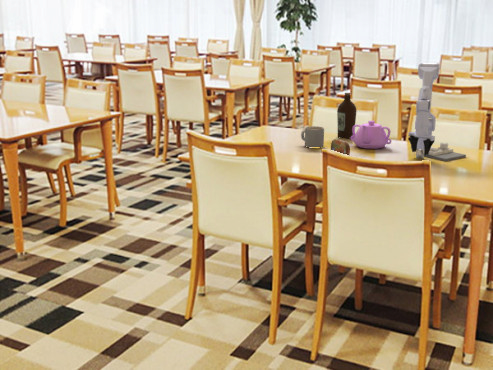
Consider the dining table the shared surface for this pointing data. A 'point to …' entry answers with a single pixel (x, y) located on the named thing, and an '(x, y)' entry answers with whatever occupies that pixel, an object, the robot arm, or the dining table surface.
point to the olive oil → (346, 117)
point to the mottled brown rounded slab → (340, 146)
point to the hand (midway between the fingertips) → (420, 153)
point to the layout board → (444, 153)
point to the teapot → (370, 135)
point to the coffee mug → (313, 136)
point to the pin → (420, 154)
